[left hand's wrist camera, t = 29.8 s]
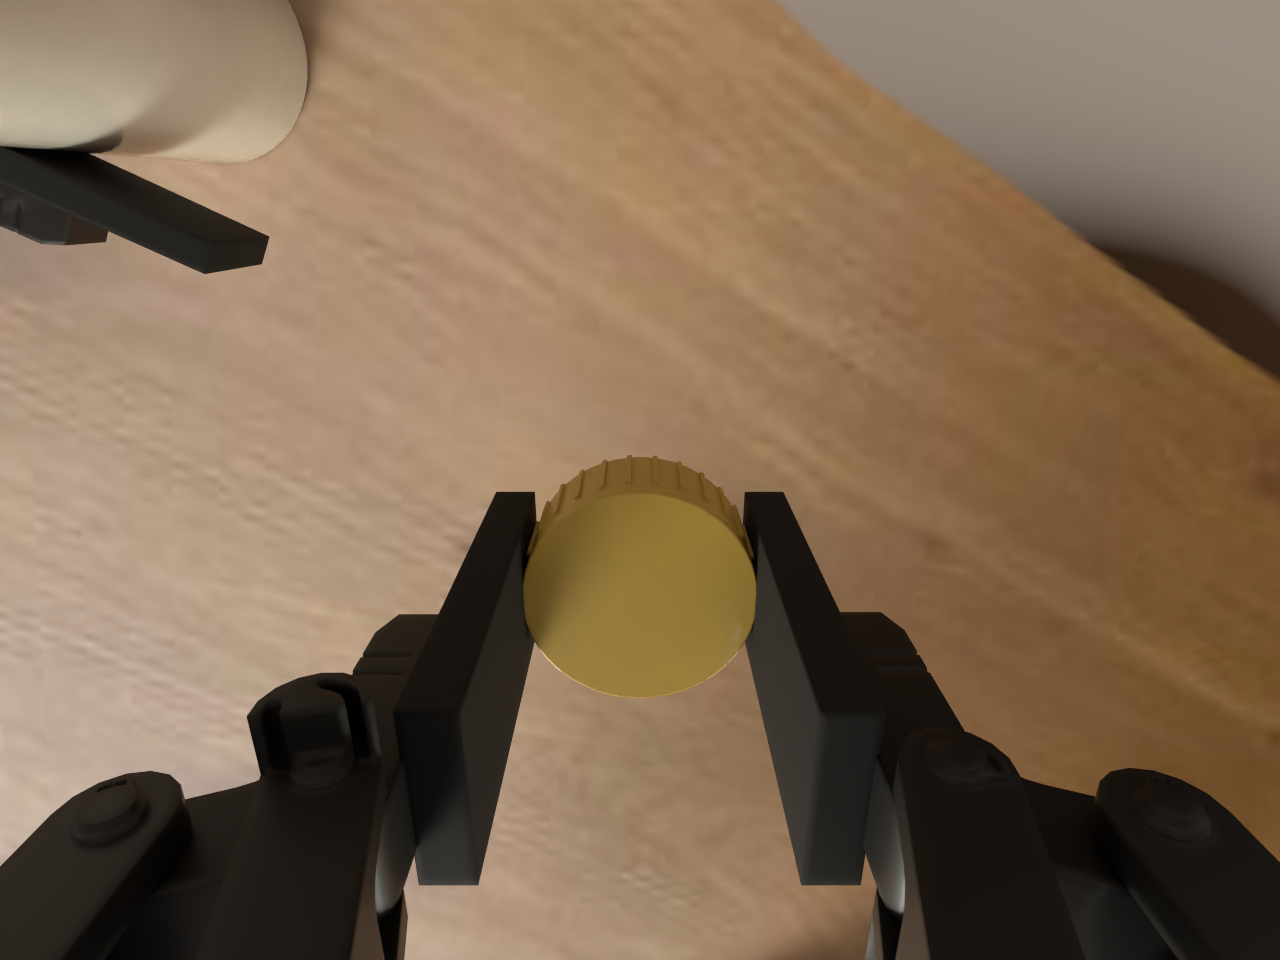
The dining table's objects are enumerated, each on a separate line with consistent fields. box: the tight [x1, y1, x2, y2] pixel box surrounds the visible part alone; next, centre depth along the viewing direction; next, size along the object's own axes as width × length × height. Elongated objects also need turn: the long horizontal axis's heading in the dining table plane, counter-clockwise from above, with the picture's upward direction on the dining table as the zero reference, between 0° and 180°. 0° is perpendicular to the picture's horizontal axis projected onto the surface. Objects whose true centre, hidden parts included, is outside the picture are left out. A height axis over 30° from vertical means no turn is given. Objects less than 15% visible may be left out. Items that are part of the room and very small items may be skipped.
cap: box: [523, 455, 757, 698], centre depth 14 cm, size 4×4×2 cm
